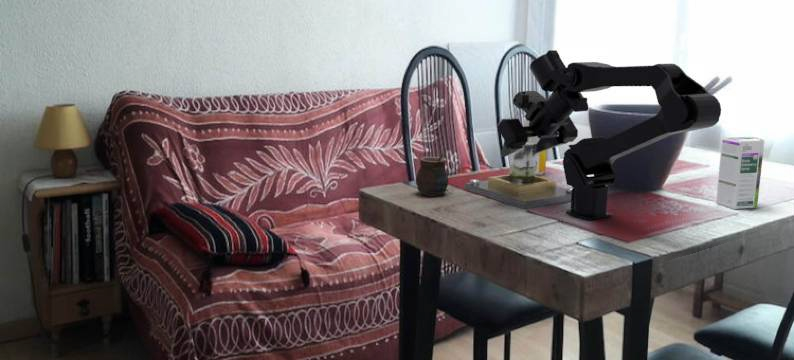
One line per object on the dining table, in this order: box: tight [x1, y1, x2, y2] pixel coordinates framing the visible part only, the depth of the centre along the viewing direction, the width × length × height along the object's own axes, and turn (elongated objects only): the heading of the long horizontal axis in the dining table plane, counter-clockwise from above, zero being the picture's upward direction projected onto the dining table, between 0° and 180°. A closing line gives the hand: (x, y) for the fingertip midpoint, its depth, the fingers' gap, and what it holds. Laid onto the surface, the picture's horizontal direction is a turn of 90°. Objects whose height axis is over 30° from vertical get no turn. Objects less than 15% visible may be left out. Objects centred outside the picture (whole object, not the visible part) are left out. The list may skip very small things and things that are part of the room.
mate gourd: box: [415, 152, 449, 197], centre depth 152 cm, size 7×8×10 cm
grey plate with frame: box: [464, 173, 573, 210], centre depth 153 cm, size 20×16×4 cm
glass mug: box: [508, 142, 537, 185], centre depth 153 cm, size 9×6×10 cm, turn 31°
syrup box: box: [715, 135, 765, 210], centre depth 144 cm, size 6×6×14 cm
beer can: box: [522, 116, 548, 176], centre depth 175 cm, size 6×6×15 cm
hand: (518, 153), depth 153 cm, fingers open, 9 cm apart
